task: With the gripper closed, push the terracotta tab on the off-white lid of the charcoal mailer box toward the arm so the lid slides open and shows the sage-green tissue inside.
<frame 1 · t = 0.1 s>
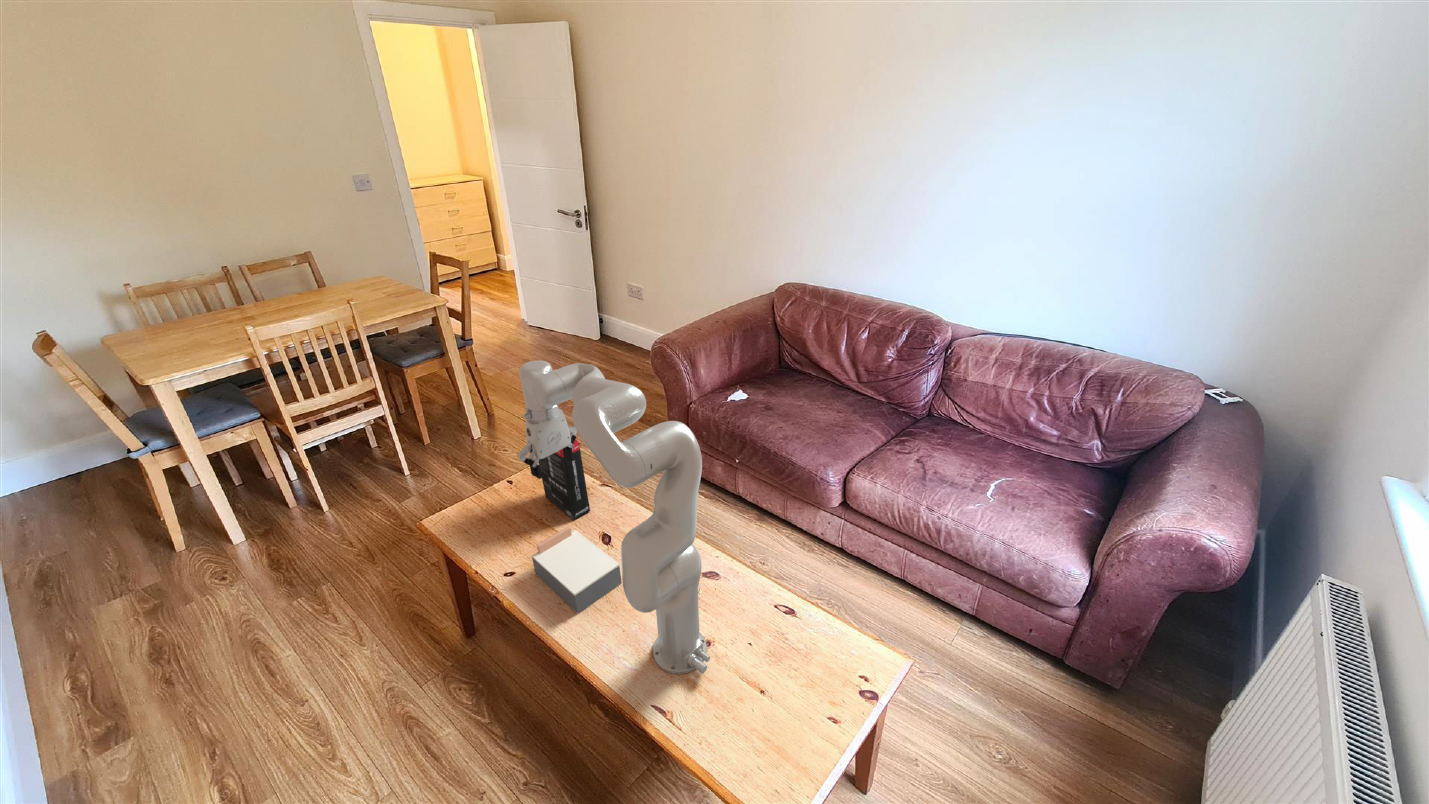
hand: (553, 468, 148), 31 cm above the table, fingers open, 9 cm apart
mailer box: (578, 578, 156), on the table
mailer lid: (574, 557, 152), point 8 cm above the table, slide at 0.0 cm
graphics card box: (567, 506, 184), on the table
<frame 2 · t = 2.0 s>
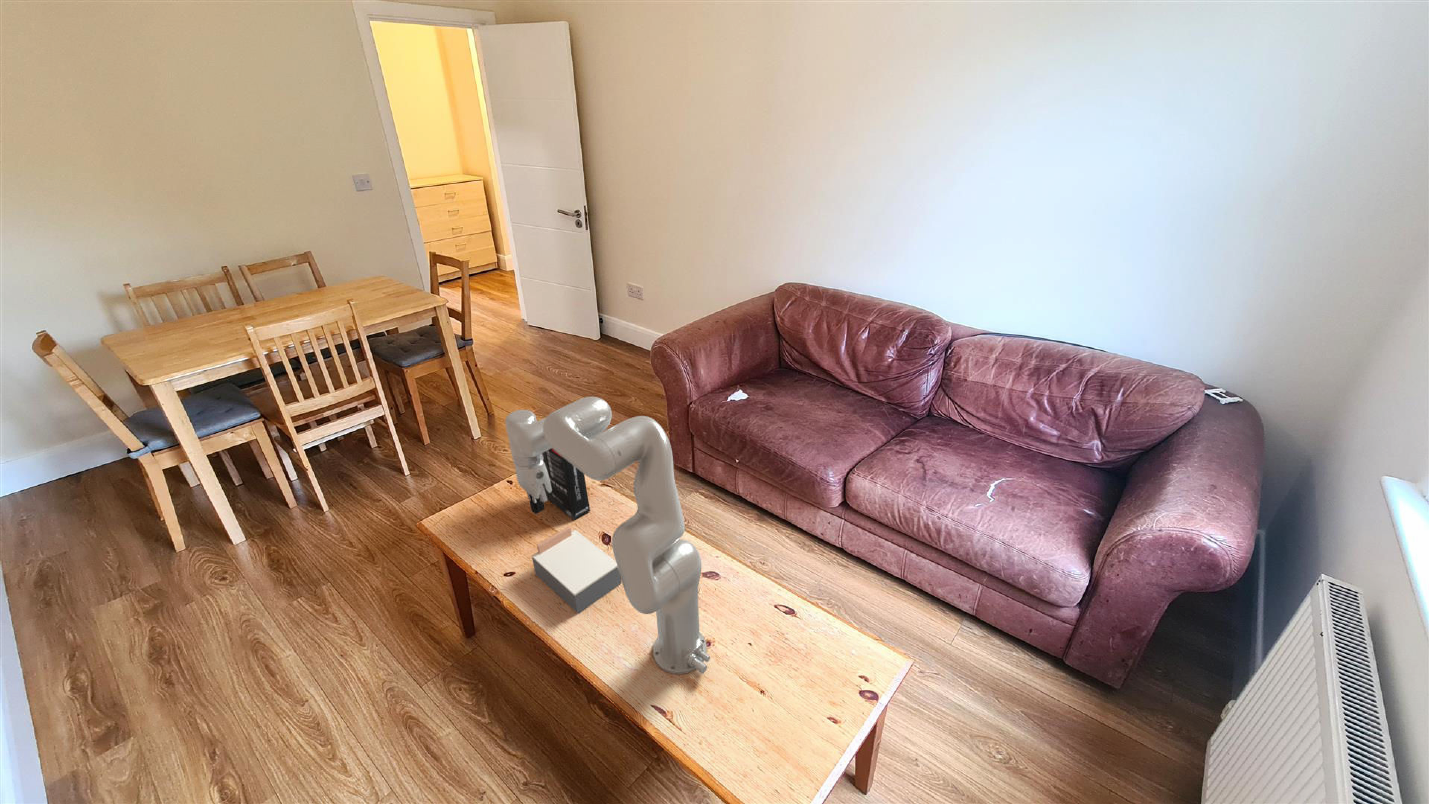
hand: (538, 510, 158), 15 cm above the table, fingers closed
nothing on the table moved.
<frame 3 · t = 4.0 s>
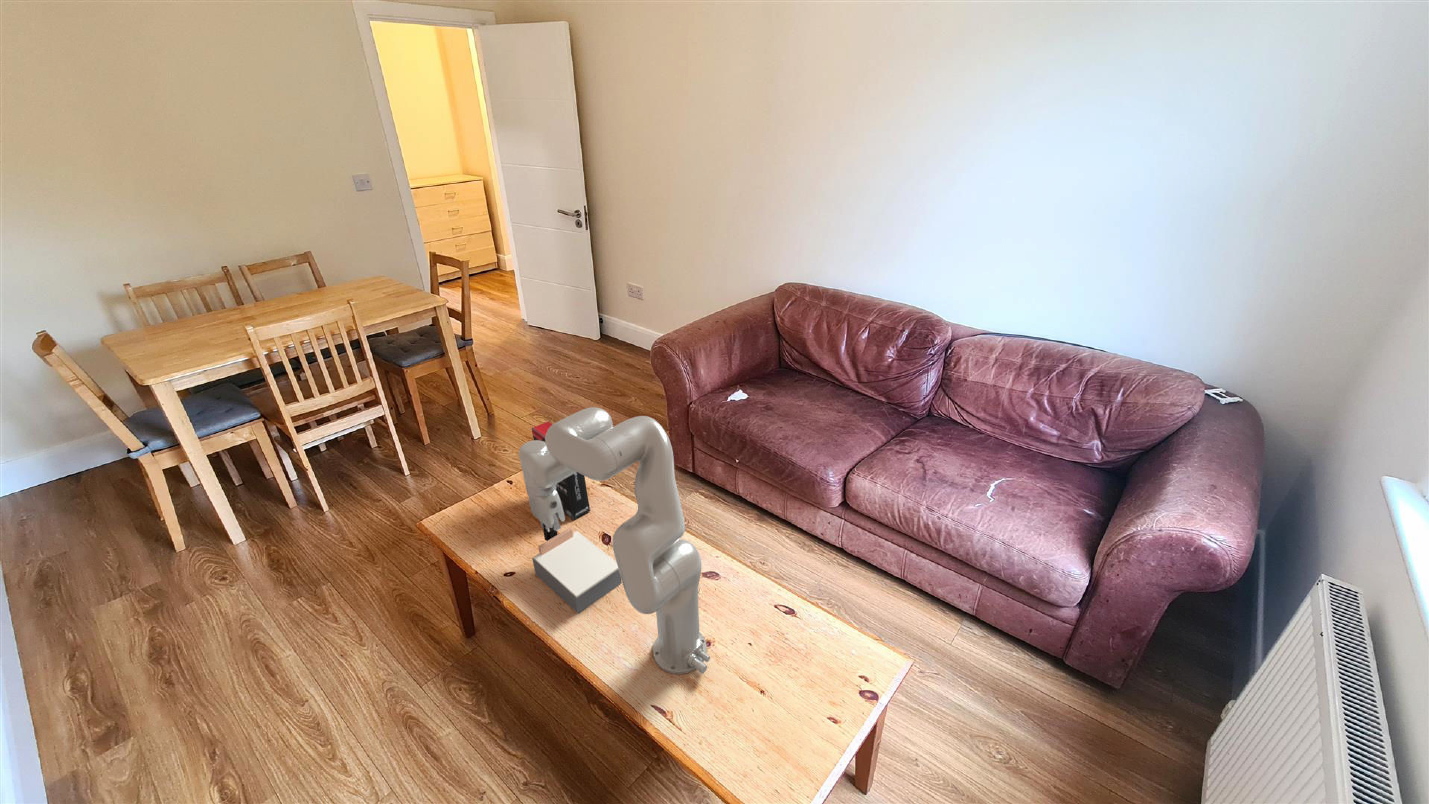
hand: (551, 538, 159), 8 cm above the table, fingers closed
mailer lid: (576, 558, 152), point 8 cm above the table, slide at 0.8 cm, touching gripper
everything else where it was.
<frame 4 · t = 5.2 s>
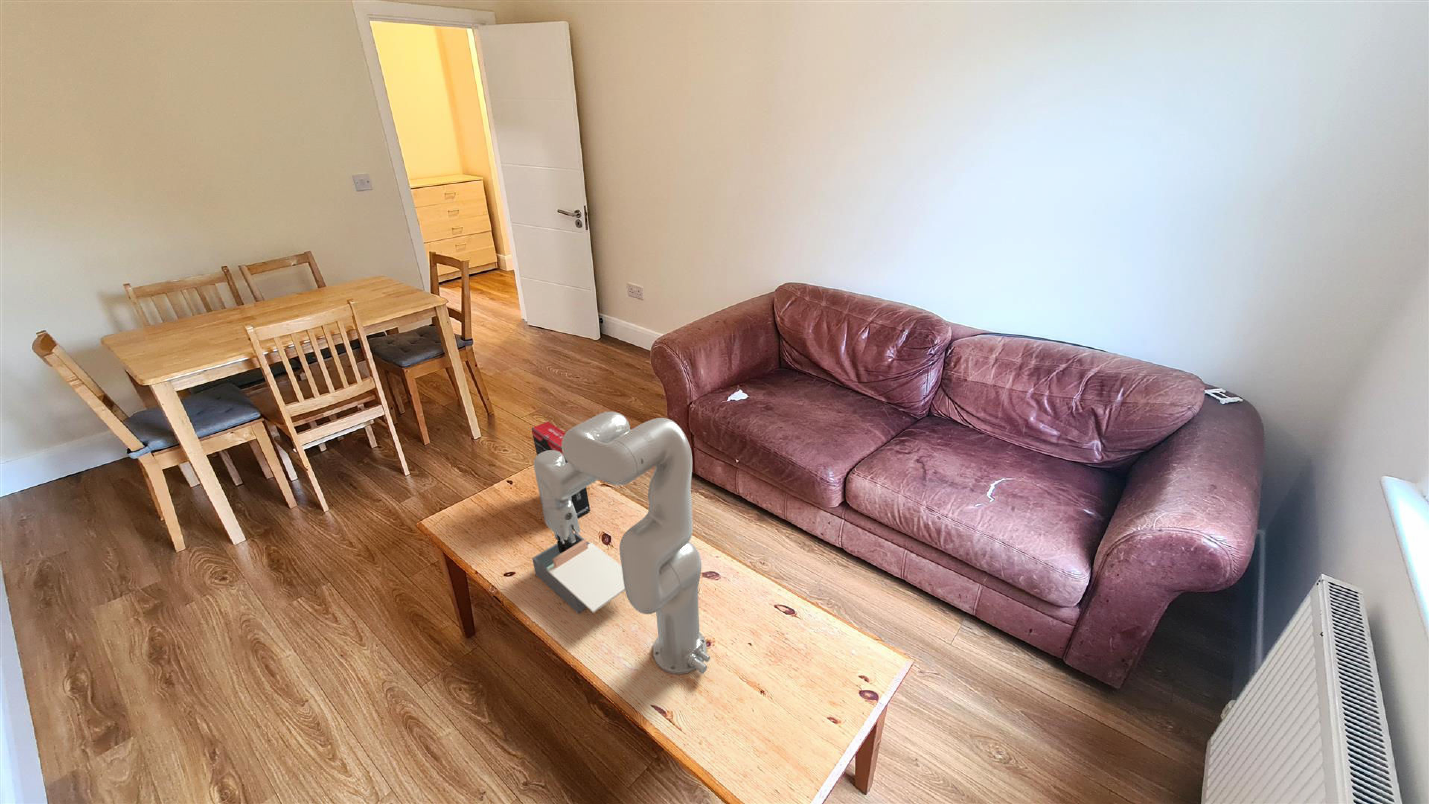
hand: (565, 550, 155), 8 cm above the table, fingers closed
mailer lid: (591, 571, 147), point 8 cm above the table, slide at 7.8 cm, touching gripper
everything else where it was.
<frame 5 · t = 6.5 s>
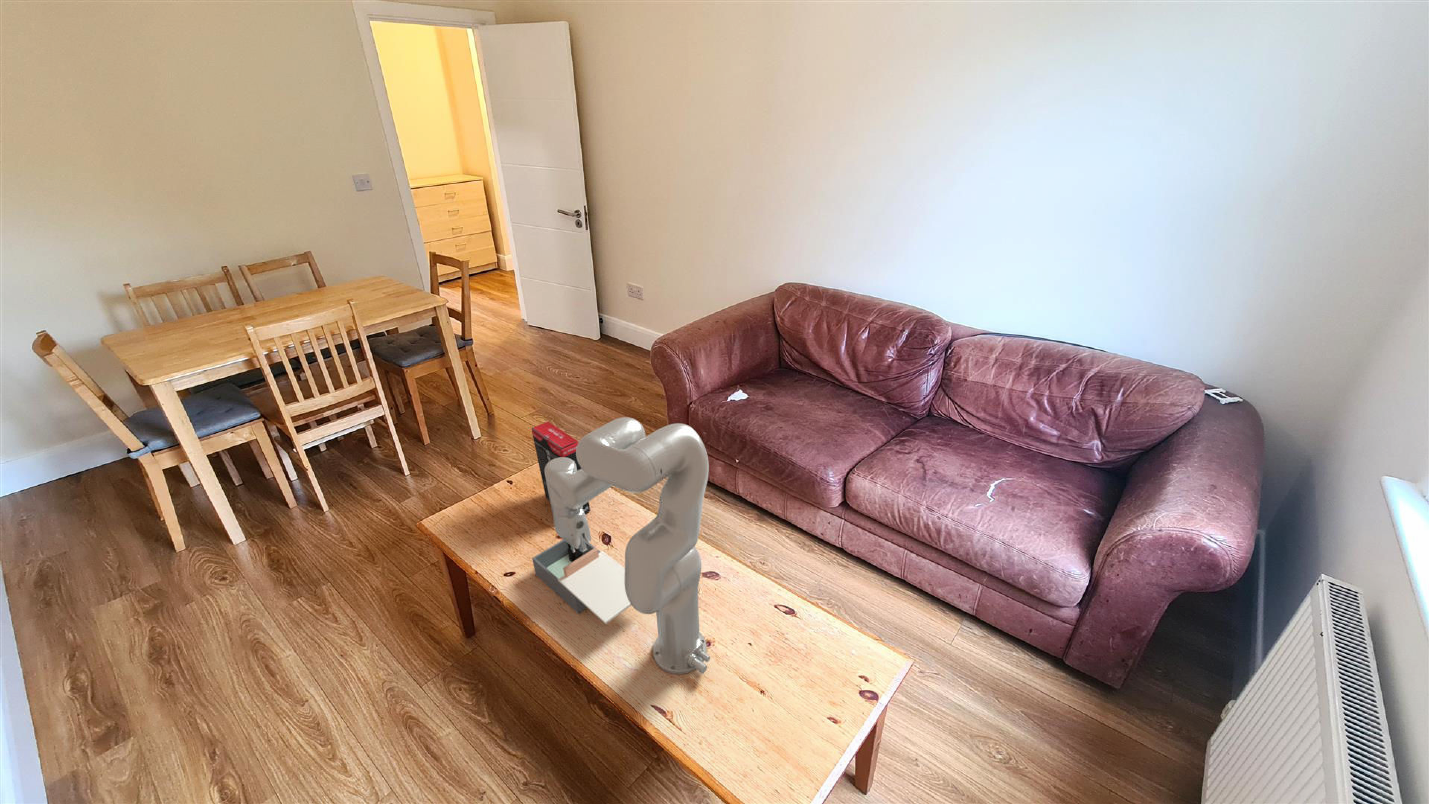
hand: (576, 559, 152), 8 cm above the table, fingers closed
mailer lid: (603, 581, 144), point 8 cm above the table, slide at 12.7 cm, touching gripper
everything else where it was.
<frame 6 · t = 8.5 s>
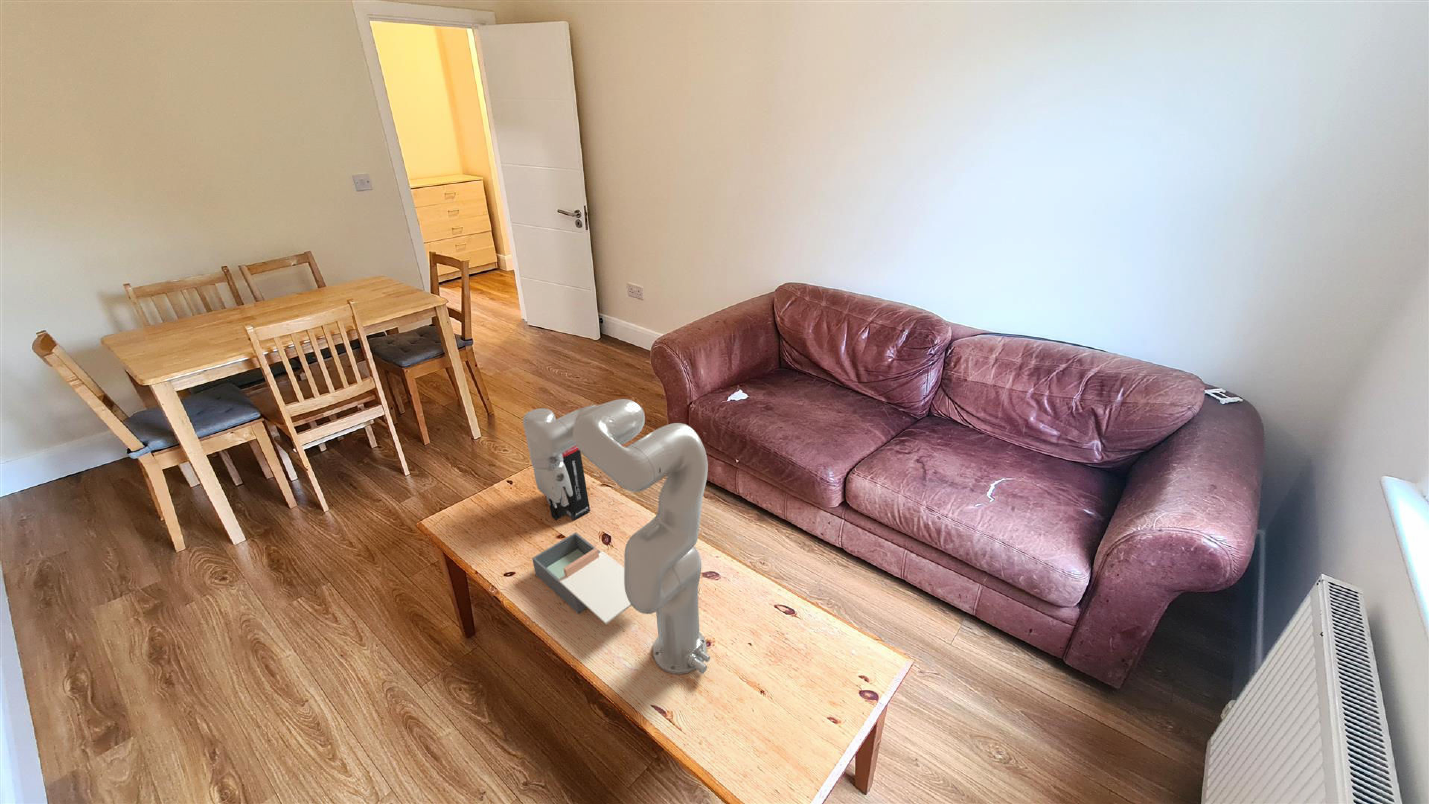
hand: (559, 516, 150), 19 cm above the table, fingers closed
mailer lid: (603, 581, 144), point 8 cm above the table, slide at 12.8 cm
everything else where it was.
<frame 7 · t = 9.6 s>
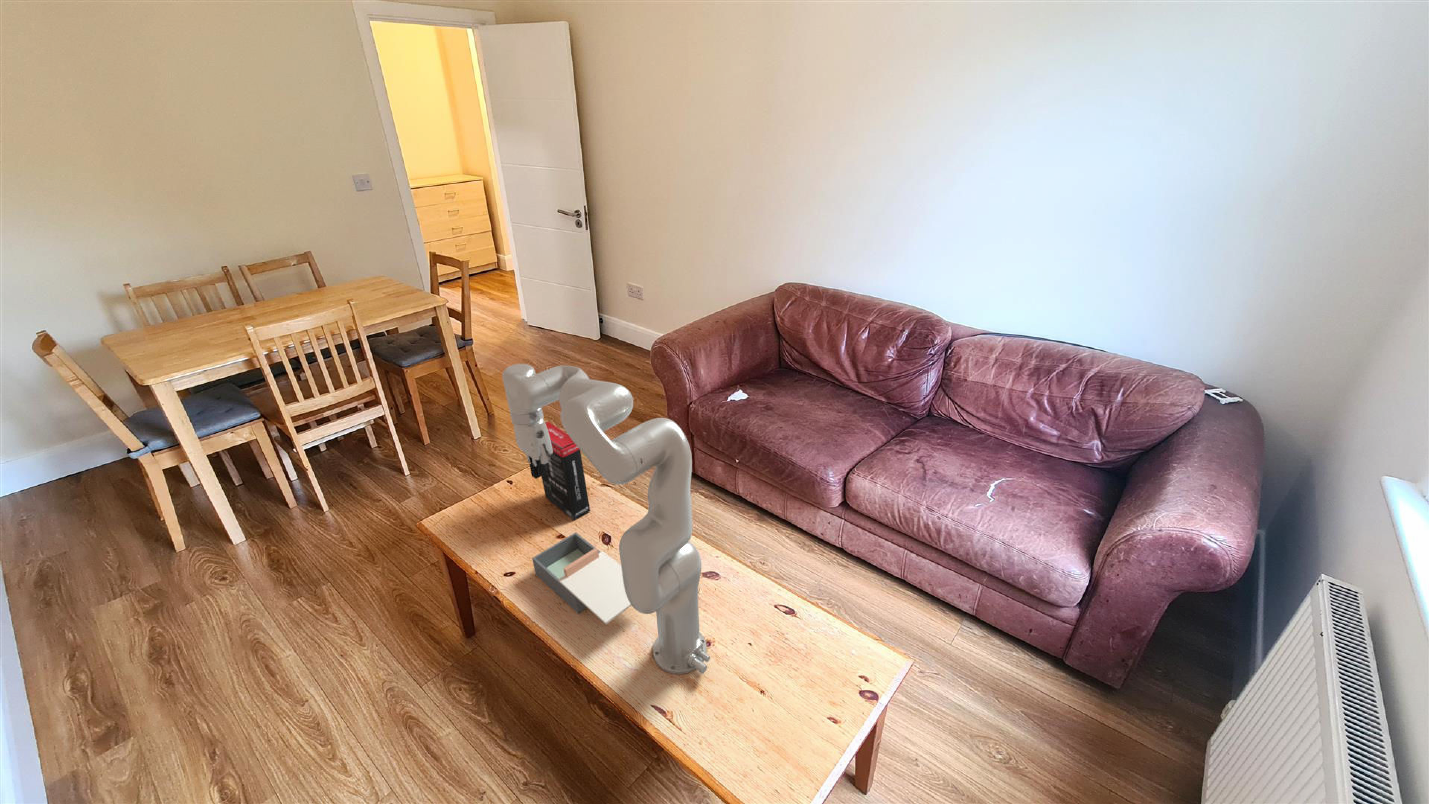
hand: (539, 475, 149), 29 cm above the table, fingers closed
nothing on the table moved.
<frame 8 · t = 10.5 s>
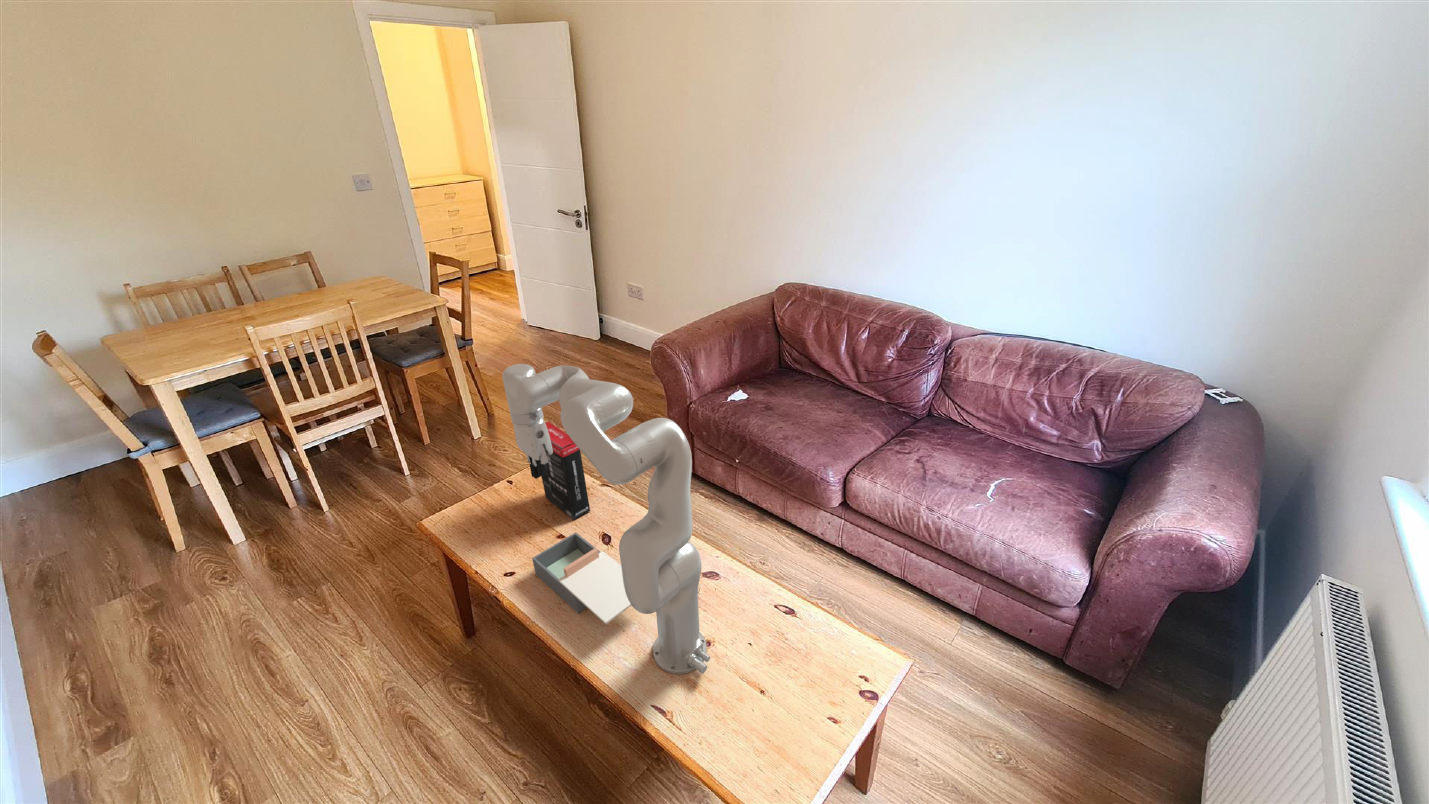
hand: (539, 475, 149), 29 cm above the table, fingers closed
nothing on the table moved.
at the end: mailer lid slide at 12.8 cm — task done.
